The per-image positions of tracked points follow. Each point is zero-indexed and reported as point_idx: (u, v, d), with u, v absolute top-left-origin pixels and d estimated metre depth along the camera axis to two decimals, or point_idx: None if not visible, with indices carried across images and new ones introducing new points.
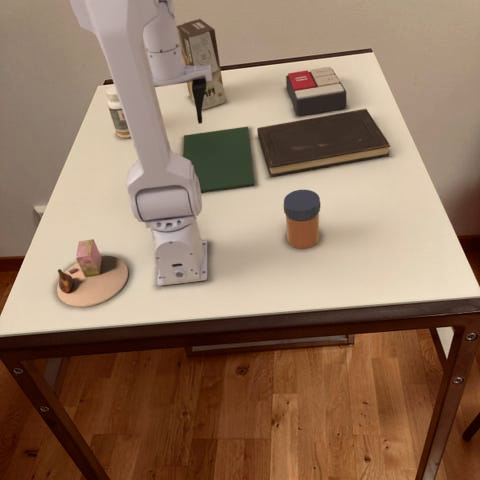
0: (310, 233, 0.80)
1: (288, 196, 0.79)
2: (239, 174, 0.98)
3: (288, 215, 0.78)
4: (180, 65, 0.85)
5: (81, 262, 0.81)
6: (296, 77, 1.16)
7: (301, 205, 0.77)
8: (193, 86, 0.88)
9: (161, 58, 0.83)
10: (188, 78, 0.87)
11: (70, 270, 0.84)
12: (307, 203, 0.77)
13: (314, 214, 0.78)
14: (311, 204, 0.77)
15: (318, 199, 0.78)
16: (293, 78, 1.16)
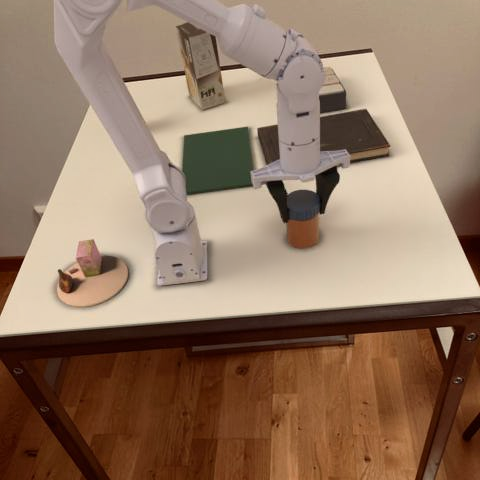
0: (310, 233, 0.80)
1: (288, 196, 0.79)
2: (239, 174, 0.98)
3: (288, 215, 0.78)
4: None
5: (81, 262, 0.81)
6: None
7: (301, 205, 0.77)
8: None
9: None
10: None
11: (70, 270, 0.84)
12: (307, 203, 0.77)
13: (314, 214, 0.78)
14: (311, 204, 0.77)
15: (318, 199, 0.78)
16: None
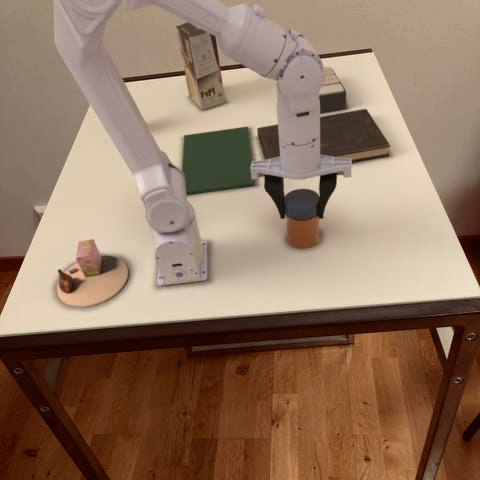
0: (310, 232, 0.80)
1: (311, 205, 0.77)
2: (239, 174, 0.98)
3: None
4: (316, 158, 0.71)
5: (81, 262, 0.81)
6: None
7: (305, 193, 0.79)
8: (321, 182, 0.73)
9: (296, 151, 0.69)
10: (323, 173, 0.72)
11: (70, 270, 0.84)
12: (298, 194, 0.79)
13: None
14: (295, 192, 0.79)
15: (286, 195, 0.79)
16: None
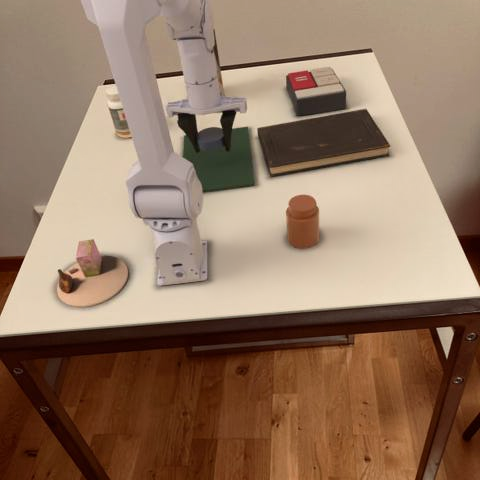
0: (310, 232, 0.80)
1: (217, 138, 0.94)
2: (239, 174, 0.98)
3: None
4: (215, 96, 0.88)
5: (81, 262, 0.81)
6: (296, 77, 1.16)
7: (214, 130, 0.96)
8: (222, 117, 0.90)
9: (197, 90, 0.86)
10: (222, 109, 0.89)
11: (70, 270, 0.84)
12: (209, 131, 0.96)
13: None
14: (206, 129, 0.96)
15: (199, 132, 0.96)
16: (293, 78, 1.16)
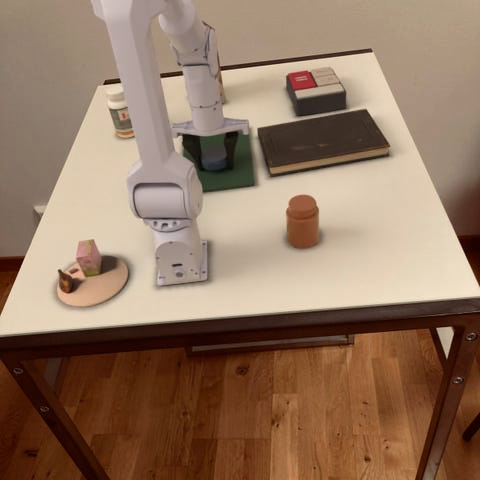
0: (310, 232, 0.80)
1: (220, 158, 0.97)
2: (239, 174, 0.98)
3: None
4: (219, 119, 0.91)
5: (81, 262, 0.81)
6: (296, 77, 1.16)
7: (217, 150, 0.99)
8: (225, 138, 0.93)
9: (201, 113, 0.89)
10: (225, 131, 0.92)
11: (70, 270, 0.84)
12: (212, 150, 0.99)
13: None
14: (210, 149, 0.99)
15: (203, 151, 0.99)
16: (293, 78, 1.16)
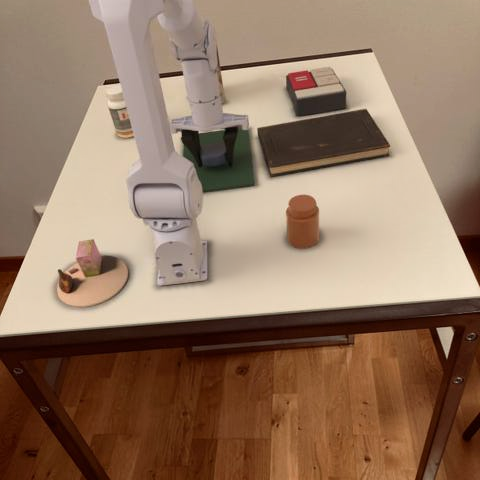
0: (310, 232, 0.80)
1: (220, 154, 0.96)
2: (239, 174, 0.98)
3: None
4: (218, 114, 0.90)
5: (81, 262, 0.81)
6: (296, 77, 1.16)
7: (217, 145, 0.98)
8: (225, 134, 0.93)
9: (200, 108, 0.89)
10: (225, 126, 0.91)
11: (70, 270, 0.84)
12: (212, 146, 0.98)
13: None
14: (209, 145, 0.99)
15: (202, 147, 0.98)
16: (293, 78, 1.16)
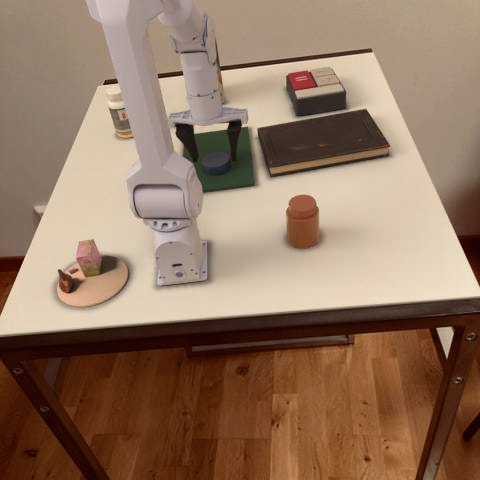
0: (310, 232, 0.80)
1: (221, 163, 0.98)
2: (239, 174, 0.98)
3: None
4: (217, 108, 0.89)
5: (81, 262, 0.81)
6: (296, 77, 1.16)
7: (218, 155, 1.00)
8: (228, 128, 0.92)
9: (199, 101, 0.88)
10: (224, 120, 0.91)
11: (70, 270, 0.84)
12: (213, 155, 1.00)
13: None
14: (211, 154, 1.00)
15: (204, 157, 1.00)
16: (293, 78, 1.16)
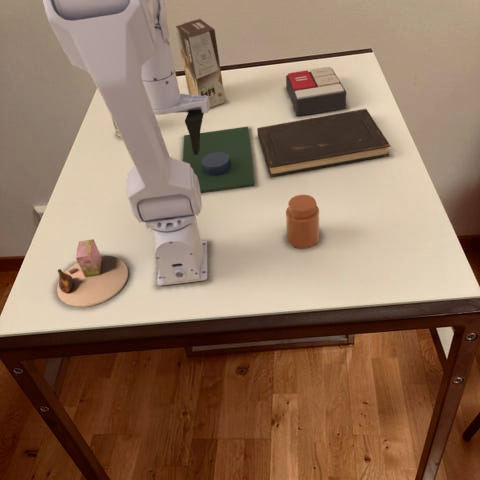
0: (310, 232, 0.80)
1: (221, 163, 0.98)
2: (239, 174, 0.98)
3: None
4: (173, 94, 0.79)
5: (81, 262, 0.81)
6: (296, 77, 1.16)
7: (218, 155, 1.00)
8: (187, 117, 0.82)
9: (152, 87, 0.78)
10: (181, 109, 0.81)
11: (70, 270, 0.84)
12: (213, 155, 1.00)
13: None
14: (211, 154, 1.00)
15: (204, 157, 1.00)
16: (293, 78, 1.16)
